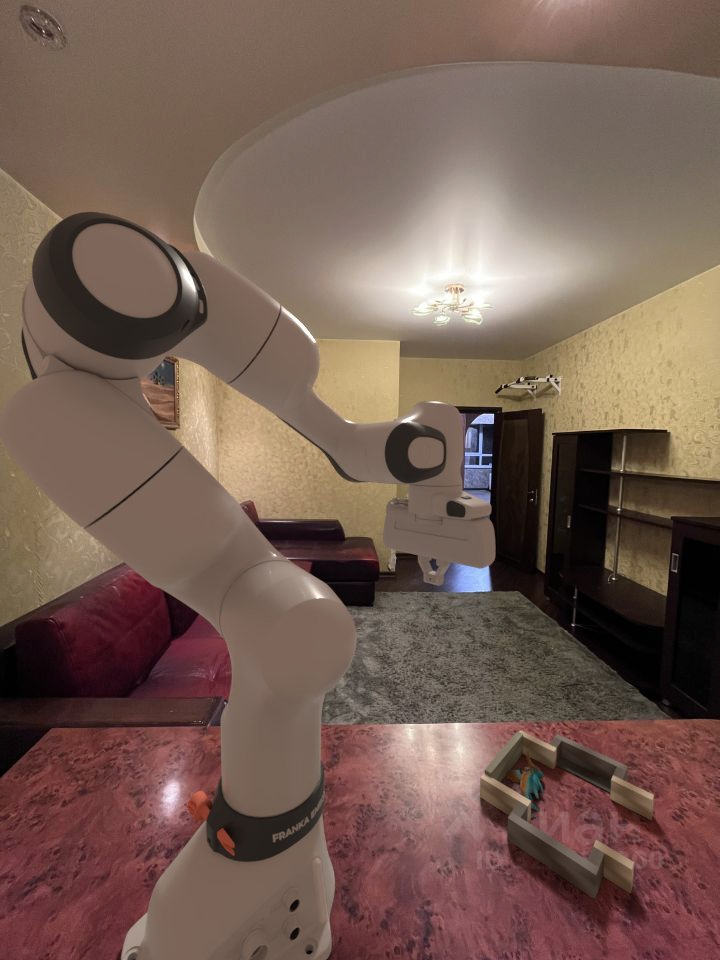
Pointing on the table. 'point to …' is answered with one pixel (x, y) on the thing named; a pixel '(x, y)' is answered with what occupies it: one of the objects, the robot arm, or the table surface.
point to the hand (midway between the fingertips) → (433, 583)
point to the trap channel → (542, 845)
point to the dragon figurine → (528, 781)
